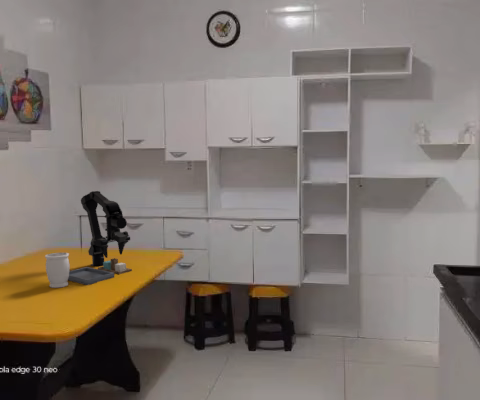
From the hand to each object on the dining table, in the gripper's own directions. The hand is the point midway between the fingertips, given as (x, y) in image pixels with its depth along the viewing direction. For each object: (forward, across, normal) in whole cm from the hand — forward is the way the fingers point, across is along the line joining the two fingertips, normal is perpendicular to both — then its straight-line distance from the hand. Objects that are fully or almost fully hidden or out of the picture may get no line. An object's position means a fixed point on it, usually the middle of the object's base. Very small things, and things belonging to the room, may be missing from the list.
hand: (113, 256), depth 261 cm
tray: (+8, -17, -1) cm, 19 cm away
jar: (+8, -33, -1) cm, 34 cm away
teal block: (+8, 0, +5) cm, 9 cm away
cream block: (+8, 0, -5) cm, 9 cm away
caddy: (+9, 0, 0) cm, 9 cm away
